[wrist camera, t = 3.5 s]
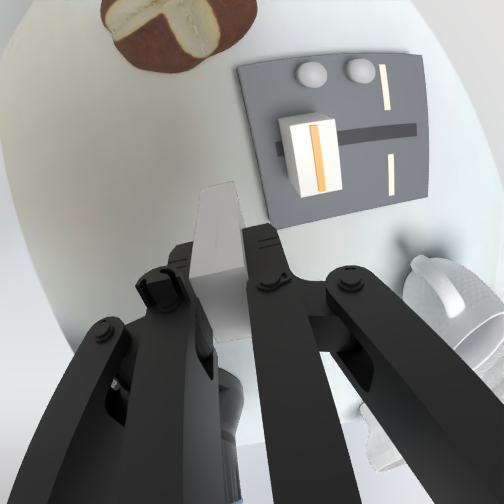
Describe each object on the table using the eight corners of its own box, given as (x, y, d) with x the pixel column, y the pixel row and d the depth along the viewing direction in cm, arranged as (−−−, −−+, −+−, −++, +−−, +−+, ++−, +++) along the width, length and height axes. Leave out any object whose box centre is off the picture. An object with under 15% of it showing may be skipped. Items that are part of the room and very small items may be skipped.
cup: (407, 382, 49) (434, 443, 37) (390, 407, 55) (411, 462, 42) (359, 394, 49) (384, 463, 36) (347, 419, 54) (365, 479, 42)
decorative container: (483, 288, 38) (543, 365, 23) (493, 313, 43) (540, 379, 27) (434, 334, 42) (483, 419, 27) (451, 352, 47) (491, 422, 31)
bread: (100, -12, 15) (77, -27, 10) (231, -56, 14) (235, -81, 10) (132, 93, 21) (112, 96, 16) (267, 50, 20) (279, 42, 16)
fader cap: (288, 179, 23) (302, 198, 20) (277, 118, 21) (290, 126, 17) (324, 172, 23) (343, 190, 20) (316, 112, 21) (335, 119, 17)
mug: (359, 266, 32) (414, 355, 21) (431, 203, 29) (509, 270, 18) (406, 321, 39) (446, 392, 28) (462, 273, 35) (513, 335, 24)
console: (269, 220, 28) (276, 239, 25) (236, 68, 20) (239, 65, 17) (417, 189, 28) (436, 203, 25) (409, 55, 20) (432, 55, 17)
